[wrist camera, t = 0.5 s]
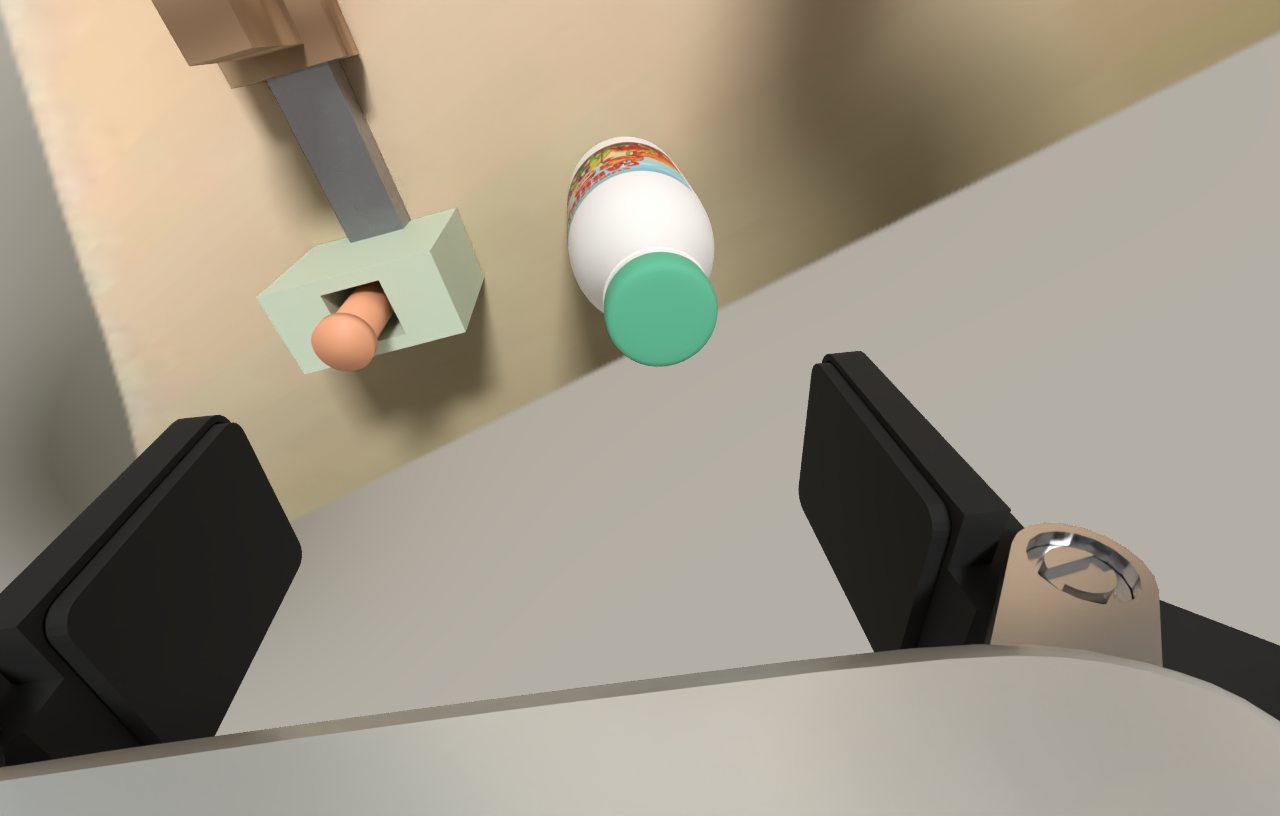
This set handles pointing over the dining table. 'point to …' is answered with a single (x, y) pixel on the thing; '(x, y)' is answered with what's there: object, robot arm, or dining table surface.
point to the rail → (341, 149)
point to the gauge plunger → (353, 329)
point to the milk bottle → (642, 250)
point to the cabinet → (408, 272)
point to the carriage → (257, 35)
